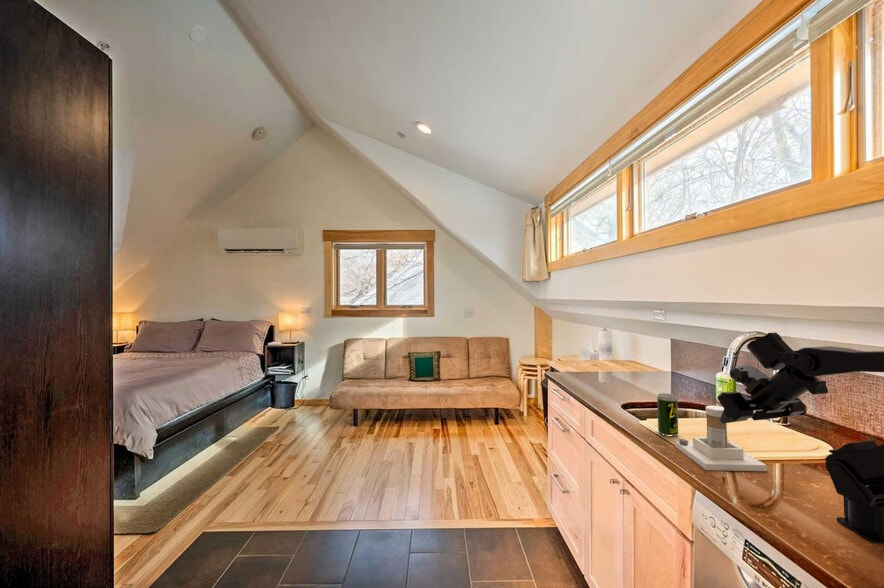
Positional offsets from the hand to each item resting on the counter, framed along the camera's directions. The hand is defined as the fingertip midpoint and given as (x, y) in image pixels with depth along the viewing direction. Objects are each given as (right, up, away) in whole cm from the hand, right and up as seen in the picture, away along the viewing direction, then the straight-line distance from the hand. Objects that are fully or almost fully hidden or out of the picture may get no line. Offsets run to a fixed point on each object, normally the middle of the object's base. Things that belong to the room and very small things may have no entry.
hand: (737, 420), depth 92 cm
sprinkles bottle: (-1, -12, +6) cm, 14 cm away
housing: (-1, -12, +6) cm, 13 cm away
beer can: (-3, -12, +23) cm, 26 cm away
